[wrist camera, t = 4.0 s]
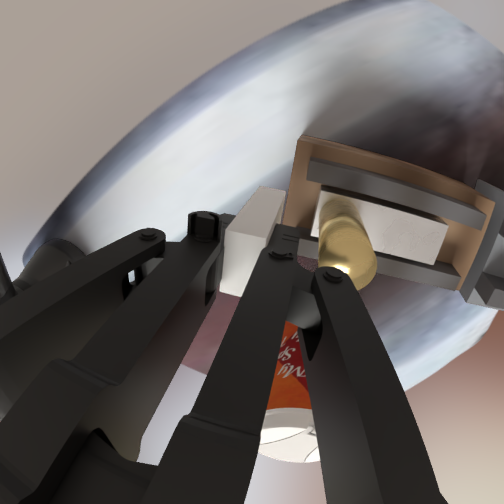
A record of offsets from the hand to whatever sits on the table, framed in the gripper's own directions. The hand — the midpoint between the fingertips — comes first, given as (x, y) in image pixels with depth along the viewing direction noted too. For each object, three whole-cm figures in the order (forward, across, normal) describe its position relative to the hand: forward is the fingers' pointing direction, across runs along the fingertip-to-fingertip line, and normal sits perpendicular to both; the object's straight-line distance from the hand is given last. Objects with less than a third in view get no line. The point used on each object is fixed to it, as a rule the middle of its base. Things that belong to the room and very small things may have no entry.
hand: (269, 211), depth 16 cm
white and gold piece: (+3, -7, 0) cm, 8 cm away
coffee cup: (+10, -6, +16) cm, 20 cm away
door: (+10, -9, 0) cm, 13 cm away
